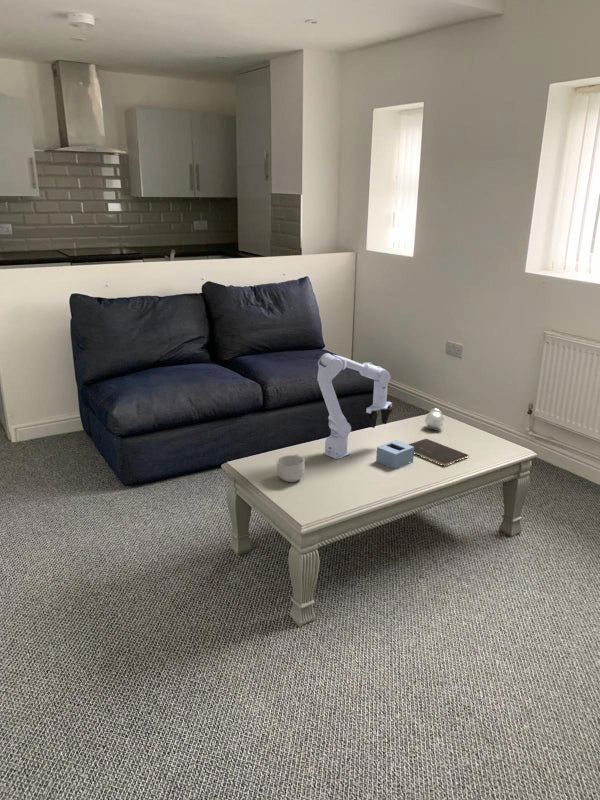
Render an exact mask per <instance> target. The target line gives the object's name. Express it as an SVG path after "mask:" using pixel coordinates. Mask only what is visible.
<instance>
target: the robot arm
mask: <svg viewBox="0 0 600 800" xmlns="http://www.w3.org/2000/svg"><path fill="white" fill-rule="evenodd" d="M317 365H318V370H317V378H316V379H317V383H318V386H319V389H320V391H321V394H322V397H323V399H324V400H323V401H324V402H325V405H326V409H327V411H328V414H329V415H328V417H327V418H328V427H329V429H330V435H329V436H328V437H326V439H325V440H324V441H325V442H324V452H323V455H325V456H328V457H330V458H333V459H335V460H338V459H341V458H343V457H347V456H349V455H352V452H351V451H349V450H348V445H349V444H348V442H349V435H350V434H351V431H352V426H351V423H349V422H348V421H347V418H346V416H344V414H343V412H342V409H341V406H340V403H339V400H338V397H337V394H336V391H335V389H334V386H333V382H332V381H333V379H334V378H335V377H336V376H337V375H338V374H340V372H341V371H344V370H345V369H346V368H348V369H350V370H354V371H357V372H359V375H361V376H362V377H365V378H368V379H371V380H372V381H373V380H374V381H373V396H372V397H373V398H372V404H371V405H369V407H366V411H365V414H366V416H367V420H368V421H369V427H370V428H372V429H374V428H376V423H377V418H378V416H379V413H377V411H379V410H380V413H381V417H380V418H381V424H384V425H387V423H388V419H389V418H390V417H389V416H390V415H391V413H392V411H393V402H391V401H387V398H388V397H387V396H388V386H389V381H390V380H391V379H392V376H391V375H390V372H389V371H388V370H387V369H385V368H383V367H381V366H380V365H377V366H376V365H374V364H373V363H372V362H371V361H370V362H369V361H368V362H363V363H360V362H357V361H354V360H353V359H350V358H347V357H344V356H341V355H336V354H331V353H328V352H326V353H324V354H322V355H321V356H320V358H319V360H318V361H317Z"/></svg>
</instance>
